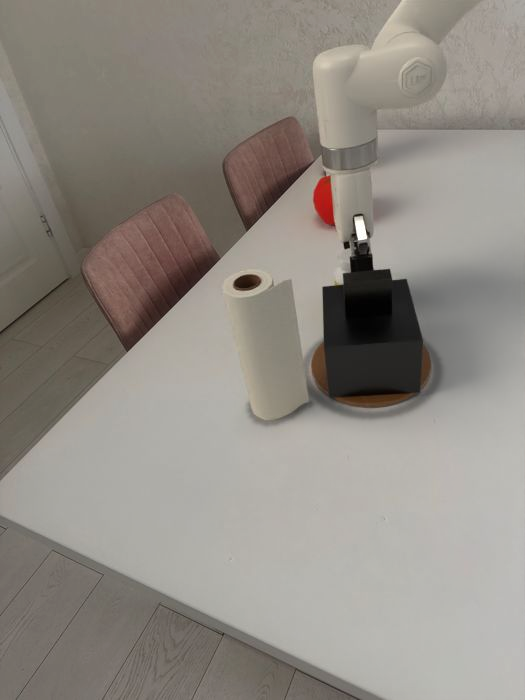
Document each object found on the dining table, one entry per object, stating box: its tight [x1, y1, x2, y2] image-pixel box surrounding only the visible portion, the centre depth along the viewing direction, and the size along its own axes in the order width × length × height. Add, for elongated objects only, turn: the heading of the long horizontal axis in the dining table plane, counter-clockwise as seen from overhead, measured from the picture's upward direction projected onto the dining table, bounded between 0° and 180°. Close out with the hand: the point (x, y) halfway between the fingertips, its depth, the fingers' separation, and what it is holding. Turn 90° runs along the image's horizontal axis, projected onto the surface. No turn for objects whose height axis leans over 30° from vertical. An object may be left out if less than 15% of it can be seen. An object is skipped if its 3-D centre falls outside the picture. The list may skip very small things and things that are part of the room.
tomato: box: [312, 175, 335, 226], centre depth 108 cm, size 13×12×11 cm
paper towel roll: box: [221, 268, 310, 421], centre depth 63 cm, size 7×6×21 cm
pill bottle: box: [333, 248, 375, 285], centre depth 80 cm, size 6×6×12 cm
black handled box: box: [310, 268, 432, 409], centre depth 68 cm, size 17×17×15 cm
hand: (357, 262), depth 78 cm, fingers open, 9 cm apart
